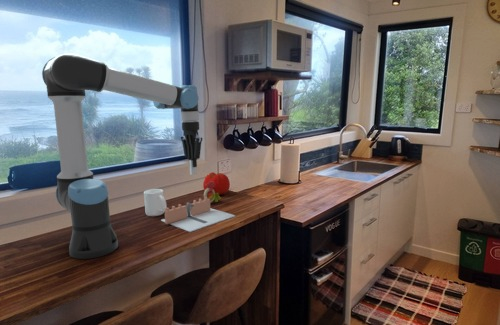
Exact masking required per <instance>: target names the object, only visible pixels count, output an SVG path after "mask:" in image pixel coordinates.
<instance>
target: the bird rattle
mask: <svg viewBox="0 0 500 325" xmlns="http://www.w3.org/2000/svg"><path fill="white" fill-rule="evenodd" d="M205 185H206V186H207V187H208V188H207V189H206V190H204V192H203V198H204V197H207V199H210V204H211V203H213V202H215V203H218V201H219V200H221V199H222V197H221V195H219V194H218V193H216V194H215V191H214V190H213V187H214V186H215V183H214V182H213V181H212V182H209V183H206V184H205Z"/></svg>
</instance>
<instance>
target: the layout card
mask: <svg viewBox="0 0 500 325" xmlns="http://www.w3.org/2000/svg"><path fill="white" fill-rule="evenodd" d="M190 212H191V210H190ZM235 217H236V215H235V214H232V213H228V212H226V211H222V210H218V209H214V208H211V207H210V210H209V211H206V212H203V213H200V214H197V215H193V216H192V215H191V217H187V218H185V219H182V220H179V221H175V222H172V223H169V224H168V225H171V226H173V227H176V228H178V229H181V230H184V231H186V232H189V233H192V232H195V231H198V230H200V229H204V228H206V227H209V226H212V225H214V224H218V223H221V222H224V221H226V220H229V219H232V218H235ZM160 221H161V222H163V223H165V218H162V219H160Z"/></svg>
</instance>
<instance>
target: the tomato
mask: <svg viewBox="0 0 500 325" xmlns="http://www.w3.org/2000/svg"><path fill="white" fill-rule="evenodd" d="M212 181H213V182H214V183H215V186H214V187H213V190H214V191H215V194H216V193H218V194H219V196H221V195H225V194H227V192H228V191H229V190H230V185H231V183H230V179H229V177H228V176H227V175H226V174H225V173H222V172H219V173H215V172H210V173H209V174H207V175H206V176H205V177H204V180H203V183H202V187H203V191H205V190H206V189H207V188H208V187H207V186H206V185H205V184H206V183H209V182H212Z"/></svg>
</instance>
